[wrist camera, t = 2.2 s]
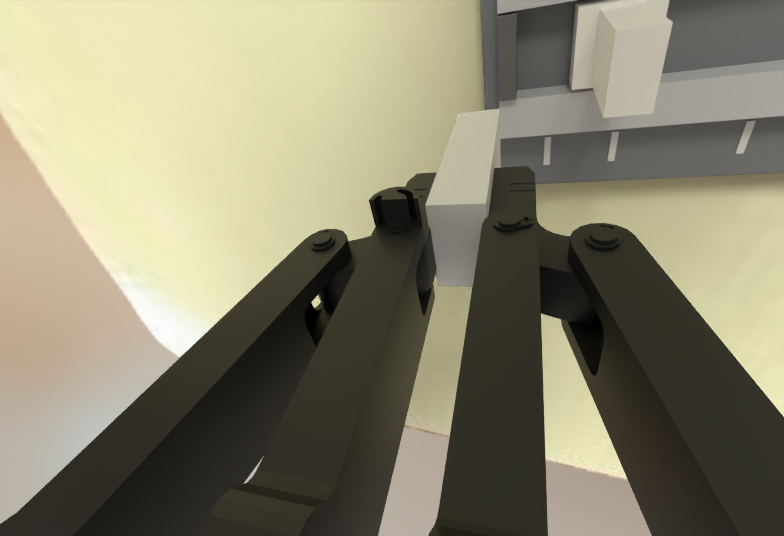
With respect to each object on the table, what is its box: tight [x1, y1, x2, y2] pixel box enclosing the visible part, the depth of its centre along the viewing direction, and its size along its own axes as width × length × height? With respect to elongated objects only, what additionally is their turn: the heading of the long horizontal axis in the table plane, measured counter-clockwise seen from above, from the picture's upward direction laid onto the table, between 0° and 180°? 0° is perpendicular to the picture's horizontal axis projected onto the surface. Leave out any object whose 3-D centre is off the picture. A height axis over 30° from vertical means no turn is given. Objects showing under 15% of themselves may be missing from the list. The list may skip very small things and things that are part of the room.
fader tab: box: [569, 0, 673, 118], centre depth 20 cm, size 4×4×7 cm
